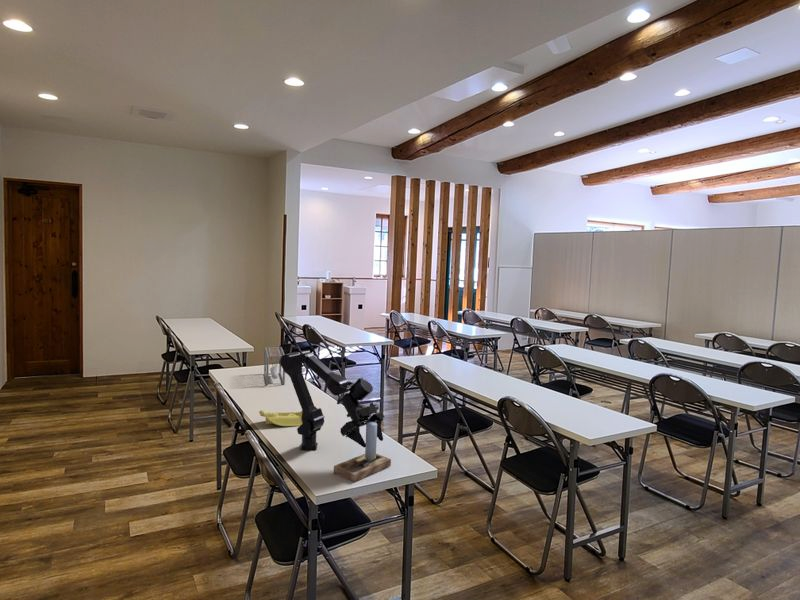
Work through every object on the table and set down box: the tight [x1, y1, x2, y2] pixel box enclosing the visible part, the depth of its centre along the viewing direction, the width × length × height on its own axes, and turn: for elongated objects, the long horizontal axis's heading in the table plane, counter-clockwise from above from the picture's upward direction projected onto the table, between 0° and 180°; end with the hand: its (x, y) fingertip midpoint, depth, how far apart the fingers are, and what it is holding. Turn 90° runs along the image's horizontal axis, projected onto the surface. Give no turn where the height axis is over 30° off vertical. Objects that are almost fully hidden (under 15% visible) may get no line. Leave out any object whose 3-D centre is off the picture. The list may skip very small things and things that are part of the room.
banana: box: [259, 409, 303, 427], centre depth 231 cm, size 20×7×10 cm
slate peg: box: [362, 422, 378, 468], centre depth 187 cm, size 5×5×16 cm
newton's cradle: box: [263, 346, 286, 386], centre depth 309 cm, size 30×10×18 cm, turn 17°
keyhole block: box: [333, 453, 392, 483], centre depth 185 cm, size 19×10×3 cm, turn 140°
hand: (373, 443), depth 186 cm, fingers open, 9 cm apart
